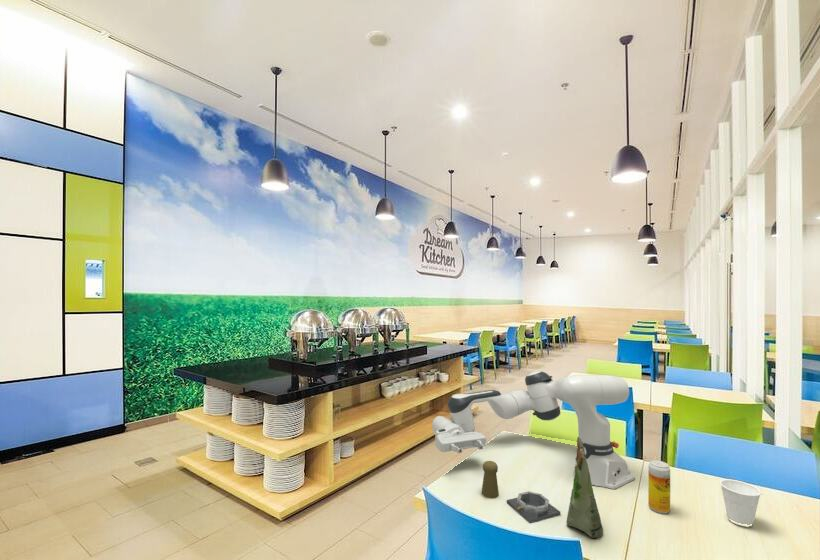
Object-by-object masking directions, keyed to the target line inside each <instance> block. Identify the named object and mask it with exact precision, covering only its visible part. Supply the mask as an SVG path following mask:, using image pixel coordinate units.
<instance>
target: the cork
mask: <svg viewBox="0 0 820 560" xmlns="http://www.w3.org/2000/svg"><path fill="white" fill-rule="evenodd" d="M498 469H499V467H498V464H497V463H496V462H495V461H493V460H486V461H484V462H483V463H482V470H483V479H482V487H481V495H482V496H483V497H484V498H487V499H496V498H498V497H499V496H500V494H499V493H500V492H499V485H498V477H497V476H498V475H497V472H498Z"/></svg>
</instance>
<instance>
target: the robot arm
mask: <svg viewBox="0 0 820 560" xmlns="http://www.w3.org/2000/svg"><path fill="white" fill-rule="evenodd" d="M524 382H525V385H526V387H527V390H526V389H517V390H513V391H508V392H506V393H501V391H499V390H495V389H487V390H481V391H474V392H467V393H466V392H465V393H455V394H452V395H451V396H450V397H449V399H448V401H447V408H448V411H449V414H450V418H448V417H446V416H442V415H438V416H435V418H433V421H432V423H431V428H432V432H433V433H434V434H435V435H434V436H435V437H434V438H435V439H434V441H435V442H434V444H435V447H436V448H437V450H438V451H440V452H442V453H447V452H454V453H455V452H456V453H457V454H461V453H462V452H463V451H462V450H467V449H472V448H473V449H474V448H477V449H478V450H479V451H480V450H481V451H483V450H484V447H485V446H486V444H487V437H486V435H484V434H482V433H480V432H478V431H475V430H476V425H475V420H474V415H473V410H472V407H473V405H474V404H479V403H483V402H484V403H485V402H487V403H488V404H489V406H490V407H491V409H492V411H493V412H494V413H495V415H496V416H498V417H500V419H503V420H508V419H509V420H510V419H513V418H515V417H518V416H521V415H522V414H524V413H526V412H528V411H533V412H532V415H533V416H536V418H538V419H540V420H542V421H547V422H548V421H550V422H551V421H553V420H556V418H559V416H560V415H561V408H560V405H559V402H558V400H559V401H560V402H564V403H568V405H570V406H571V408H572V409H573V411H575V415H576V418H577V427H578V430H577V431H578V436H577V440H576V447H577V448H578V439H579V438H580V439H581V441H582V443H583V446H584V452H585V456H586V460H587V464H588V469H589V473H590V477H591V483H592V486H597V487H603V488H607V489H612V490H615V489H618V488H620V487H621V486H622V487H623V486H624V485H626V484H628V483H630V482H632V481H634V480H636V478H635V474H633V473H632V472H630V470H628V464H627V463H628V462H627V461H626V460H625V459H624V458H623V457H621V456H620V455H619V454H618V453H617V452H616V451H615V450H614V449H619V446H620V444H619V443H618V442H616V441H611V423H610V421H609V420H608V418H607V417H606V416H605V415H603V414H601V413H600V412H597V406H602V405H603V406H605V405H606V406H608V405H611V406H612V405H617V404H622V403H624V402H626V401H627V400H628V399H629V396H630V387H629V385H628V383H627V381H626V380H625V379H624V378H623V377H620V376H615V375H611V374H585V375H584V374H577V375H571V376H564V377H562V378H558V379H557V380H553V376H552V375H549V373H546V372H544V371H539V370H535V371H532V372H530V373H529V374H527V375H526V376H525V378H524ZM577 448H576V449H577ZM576 457H577V455H576ZM576 457H575V458H576ZM573 465H574V466H573V468H574V470H573V476H575V466H576V465H577V461H576V460H575V463H574V464H573Z"/></svg>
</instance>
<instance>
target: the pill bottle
mask: <svg viewBox="0 0 820 560" xmlns="http://www.w3.org/2000/svg"><path fill="white" fill-rule="evenodd" d="M669 465H670V464H669V463H667V462H665V461H663V460H658V459H652V460H650V461H649V463H648V479H647V481H648V485H647V486H648V493H647V494H648V495H647V496H648V497H647V498H648V503H647V504H648V506H649V507H650V509H651V510H652V511H653V512H655V513H658V514H662V515H663V514H664V515H666V514H668V513H669V512H670V511H671V468H670V466H669Z"/></svg>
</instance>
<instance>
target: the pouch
mask: <svg viewBox="0 0 820 560" xmlns="http://www.w3.org/2000/svg"><path fill="white" fill-rule="evenodd" d="M576 456H577V457H575V462H576V461H577V465H576V466H575V468H574V470H575V475H574V477H573V482H572V483H573V486H572V489H571V493H570V500H569V505H568V510H567V511H568V512H567V518H566V525H567V526H569V527H573V528H575V529H577V530H580V531H581V532H584V533H585V534H587V535H588V536H589V537H591V538H592V539H594V538H595V539H596V538H599V537H600V536H602V535H603V533H604V528H603V525H602V522H601V521H602V520H601V515H600V513H599V508H598V504H597V500H596V498H595V492H594V488H593V485H592V483H591V477H590V473H589V469H588V464H587V460H586V456H585V452H584V446H583V443H582V441H581V439H580V438H579V439H578V448H576Z"/></svg>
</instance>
